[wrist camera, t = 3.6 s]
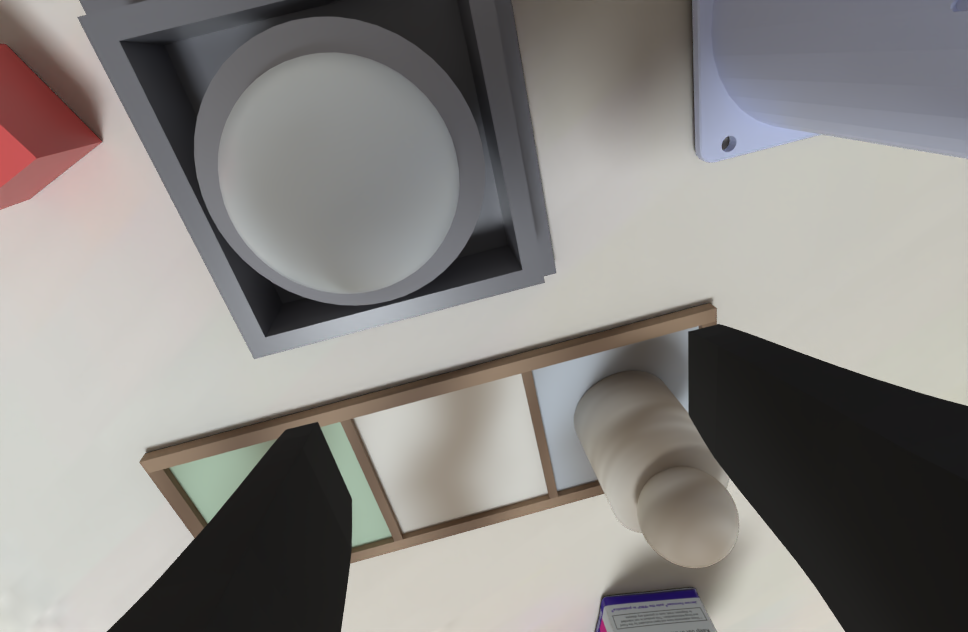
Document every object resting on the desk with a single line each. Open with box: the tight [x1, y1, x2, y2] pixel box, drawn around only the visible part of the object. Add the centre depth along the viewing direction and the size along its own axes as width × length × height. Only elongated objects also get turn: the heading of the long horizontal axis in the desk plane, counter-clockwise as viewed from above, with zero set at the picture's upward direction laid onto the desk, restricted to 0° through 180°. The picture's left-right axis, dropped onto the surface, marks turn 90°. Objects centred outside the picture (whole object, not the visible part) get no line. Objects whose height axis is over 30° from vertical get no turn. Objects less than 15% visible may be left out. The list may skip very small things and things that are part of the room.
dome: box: [194, 17, 485, 306], centre depth 12 cm, size 7×7×6 cm
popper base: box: [78, 0, 556, 359], centre depth 15 cm, size 11×11×3 cm
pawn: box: [574, 371, 739, 568], centre depth 19 cm, size 4×4×7 cm
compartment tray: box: [140, 303, 717, 563], centre depth 22 cm, size 23×8×1 cm, turn 103°
